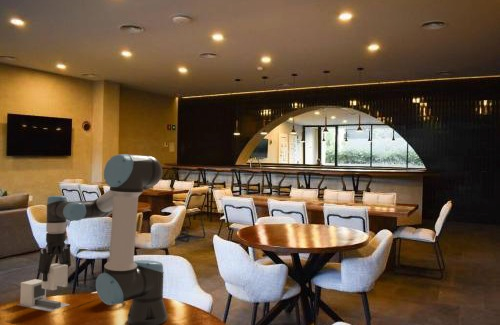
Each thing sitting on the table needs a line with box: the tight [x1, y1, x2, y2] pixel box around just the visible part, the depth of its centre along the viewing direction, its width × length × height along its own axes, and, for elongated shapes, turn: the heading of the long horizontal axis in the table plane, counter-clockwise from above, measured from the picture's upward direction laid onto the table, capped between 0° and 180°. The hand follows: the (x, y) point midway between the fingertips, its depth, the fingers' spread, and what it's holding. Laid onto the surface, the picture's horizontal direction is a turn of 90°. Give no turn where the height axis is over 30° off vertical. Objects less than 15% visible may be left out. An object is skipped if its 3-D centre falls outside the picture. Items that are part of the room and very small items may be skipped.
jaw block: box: [41, 263, 69, 291], centre depth 172 cm, size 8×7×9 cm
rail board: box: [17, 298, 71, 312], centre depth 174 cm, size 20×10×3 cm, turn 66°
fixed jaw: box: [19, 278, 47, 306], centre depth 177 cm, size 8×7×9 cm
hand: (54, 286), depth 172 cm, fingers closed on jaw block, 7 cm apart
